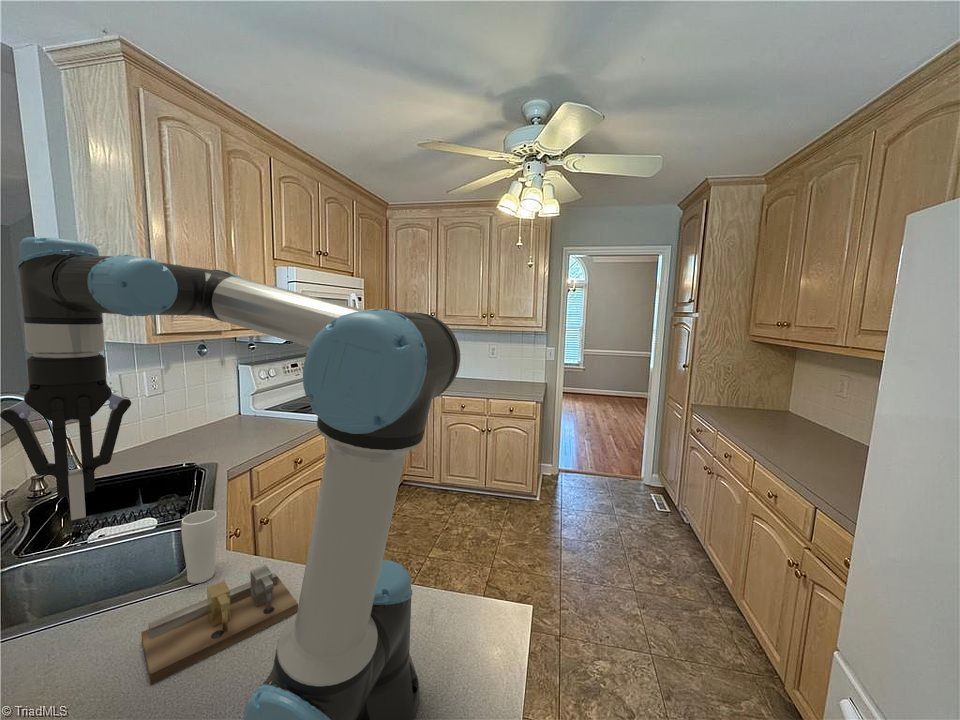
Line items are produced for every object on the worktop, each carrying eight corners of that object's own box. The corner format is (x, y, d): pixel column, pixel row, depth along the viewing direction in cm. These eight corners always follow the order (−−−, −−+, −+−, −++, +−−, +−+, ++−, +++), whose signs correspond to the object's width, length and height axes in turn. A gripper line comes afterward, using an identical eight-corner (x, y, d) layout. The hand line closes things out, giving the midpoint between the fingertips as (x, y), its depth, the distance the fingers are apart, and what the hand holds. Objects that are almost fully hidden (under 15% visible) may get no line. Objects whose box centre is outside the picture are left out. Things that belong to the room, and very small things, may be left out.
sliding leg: (235, 627, 76) (234, 599, 75) (216, 636, 74) (216, 606, 73) (225, 607, 81) (224, 580, 80) (207, 615, 78) (206, 587, 78)
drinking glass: (177, 589, 88) (175, 525, 86) (191, 570, 95) (189, 510, 93) (212, 585, 90) (210, 522, 88) (223, 566, 96) (221, 508, 95)
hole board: (297, 612, 83) (297, 576, 82) (150, 685, 66) (148, 640, 65) (277, 584, 91) (277, 551, 90) (141, 641, 74) (139, 602, 73)
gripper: (127, 350, 62) (134, 493, 64) (-3, 353, 53) (11, 520, 55) (132, 355, 57) (140, 510, 59) (-11, 359, 47) (5, 543, 50)
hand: (78, 514), depth 57 cm, fingers closed
